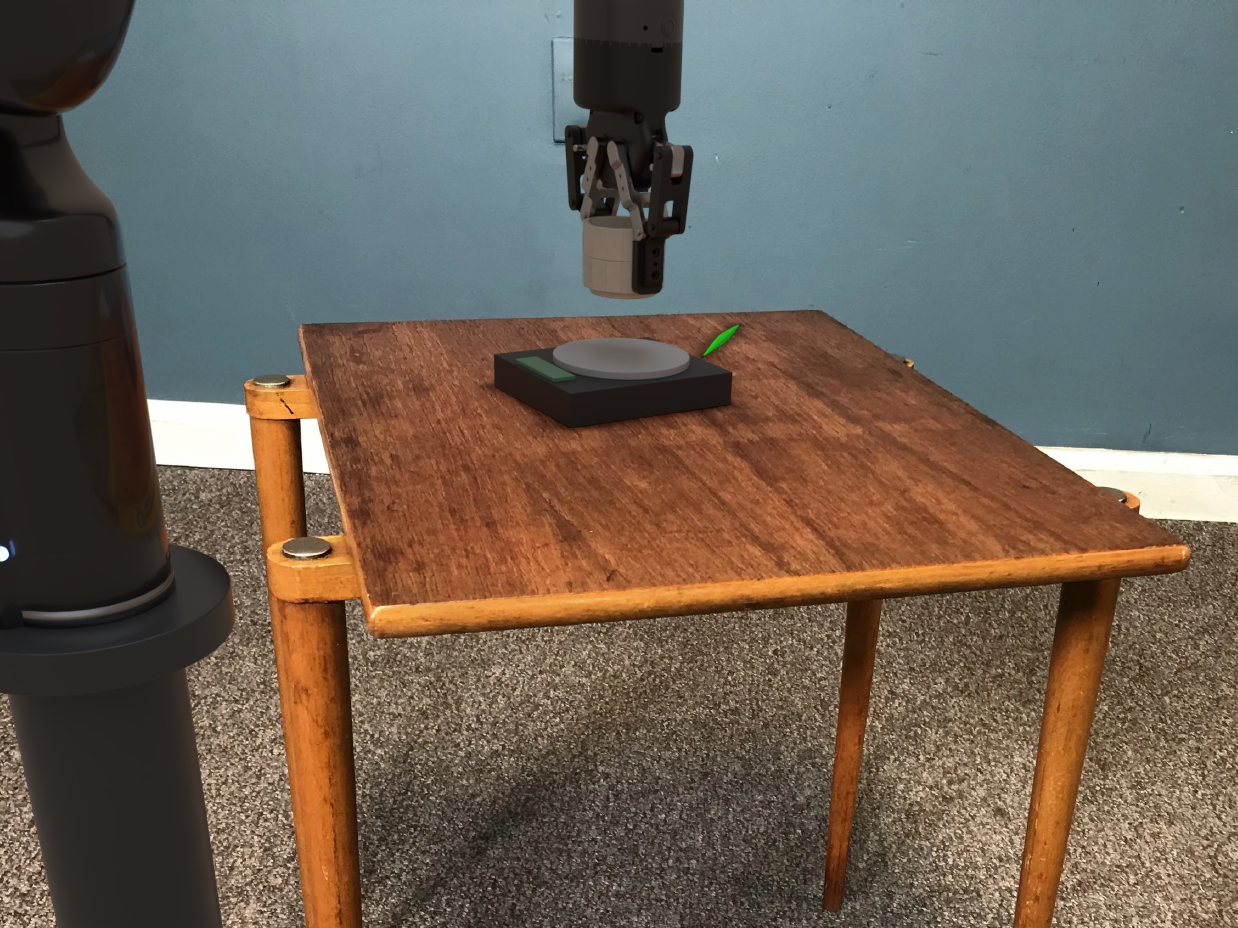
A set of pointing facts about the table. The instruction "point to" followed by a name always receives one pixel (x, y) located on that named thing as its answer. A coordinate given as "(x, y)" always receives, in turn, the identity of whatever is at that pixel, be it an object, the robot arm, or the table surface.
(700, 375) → the scale
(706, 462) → the table surface
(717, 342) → the leaf
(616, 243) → the white cup
